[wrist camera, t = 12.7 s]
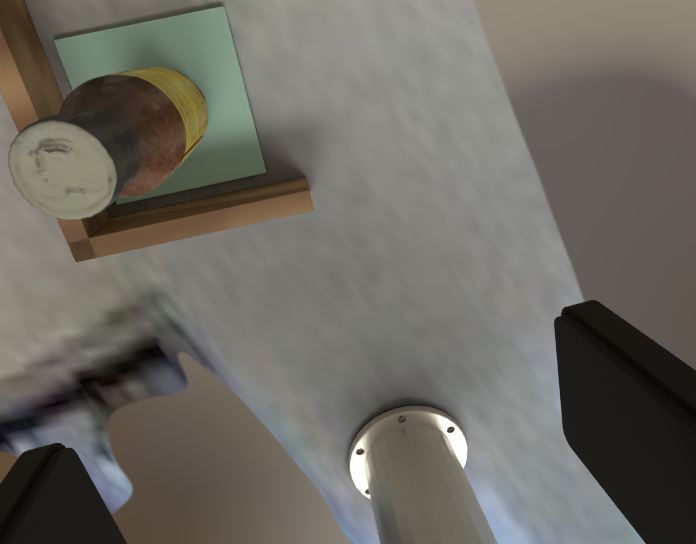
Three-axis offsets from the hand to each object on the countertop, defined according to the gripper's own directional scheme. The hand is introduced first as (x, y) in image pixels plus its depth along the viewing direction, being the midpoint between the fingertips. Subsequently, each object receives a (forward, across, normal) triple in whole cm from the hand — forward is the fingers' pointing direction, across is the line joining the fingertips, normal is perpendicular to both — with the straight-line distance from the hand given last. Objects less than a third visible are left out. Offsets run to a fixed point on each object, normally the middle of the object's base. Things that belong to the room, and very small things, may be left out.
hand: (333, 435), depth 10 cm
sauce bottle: (+33, +8, -6) cm, 35 cm away
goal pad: (+33, +8, -6) cm, 35 cm away
